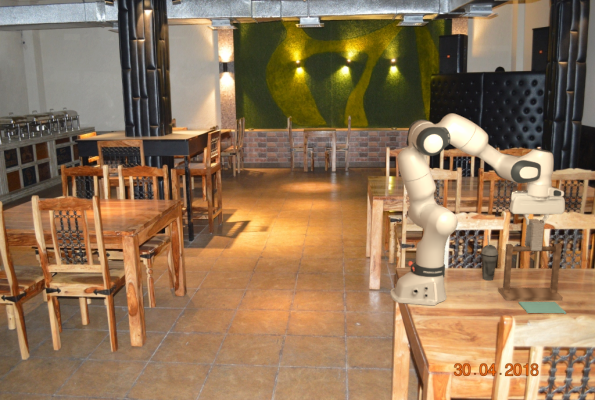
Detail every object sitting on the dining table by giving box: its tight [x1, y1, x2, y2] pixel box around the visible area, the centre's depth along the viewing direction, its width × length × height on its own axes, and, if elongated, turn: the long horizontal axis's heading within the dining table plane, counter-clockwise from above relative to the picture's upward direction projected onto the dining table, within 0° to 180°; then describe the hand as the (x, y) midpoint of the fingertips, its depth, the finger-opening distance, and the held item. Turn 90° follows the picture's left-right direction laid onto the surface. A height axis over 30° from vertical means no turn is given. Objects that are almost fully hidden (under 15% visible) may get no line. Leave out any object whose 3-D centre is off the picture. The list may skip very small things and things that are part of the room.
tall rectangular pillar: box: [524, 218, 545, 252], centre depth 213 cm, size 4×7×11 cm, turn 178°
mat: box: [518, 301, 567, 315], centre depth 206 cm, size 14×10×1 cm
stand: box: [497, 243, 563, 302], centre depth 216 cm, size 22×10×22 cm, turn 88°
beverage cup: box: [480, 234, 499, 281], centre depth 235 cm, size 7×7×20 cm
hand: (535, 224), depth 212 cm, fingers closed on tall rectangular pillar, 4 cm apart
